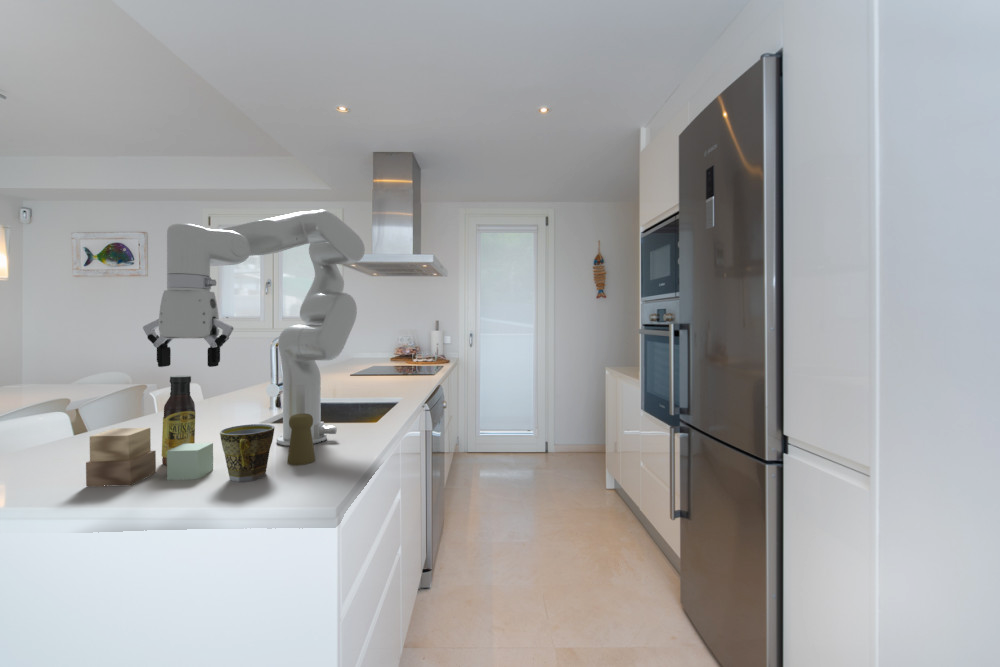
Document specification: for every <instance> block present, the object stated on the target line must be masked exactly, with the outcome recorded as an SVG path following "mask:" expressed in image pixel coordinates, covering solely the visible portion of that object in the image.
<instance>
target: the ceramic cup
mask: <svg viewBox="0 0 1000 667" xmlns="http://www.w3.org/2000/svg"><path fill="white" fill-rule="evenodd" d="M274 434H275V426H274V425H272V424H266V423H264V424H263V423H254V424H244V425H243V424H242V425H235V426H231V427H227V428H224V429H222V430H220V431H219V435H220V441H221V445H222V450H223V453H224V459H225V463H226V468H227V473H228V477H229V480H230V481H231V482H237V483H244V482H245V483H246V482H253V481H256V480H259V479H263V478H264V477H265V475H266V472H267V468H268V461H269V457H270V456H269V455H270V450H271V446H272V443H273V440H274Z"/></svg>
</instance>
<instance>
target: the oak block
mask: <svg viewBox="0 0 1000 667" xmlns="http://www.w3.org/2000/svg"><path fill="white" fill-rule="evenodd" d="M151 446H152V444H151V427H126V428H124V427H123V428H112V429H108V430H106V431H102V432H100V433H99V432H98V433H96V434H93V435H90V436H89V461H90V462H100V461H129V460H131V459H134V458H136V457H138V456H141V455H143V454H145V453H148V452H150V451H152V449H151Z"/></svg>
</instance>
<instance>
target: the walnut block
mask: <svg viewBox="0 0 1000 667" xmlns="http://www.w3.org/2000/svg"><path fill="white" fill-rule="evenodd" d="M156 455H157V454H156V450H151V451H150V452H148V453H145V454H143V455H141V456H138V457H136V458H134V459H131V460H129V461H100V462H90V460H89V461H87V462H85V481H86V482H85V484H86V485H85V486H102V487H108V486H107V485H131V486H132V484H133V485H135V484H137V483H139V482H141V481H142V479H143V480H145V479H146V477H147V478H149V477H150V475H151V476H153V475H154V473H155V474H156V471H157V464H156V463H157V462H156V460H157V458H156ZM152 474H153V475H152ZM148 476H149V477H148ZM144 478H145V479H144ZM140 480H141V481H140ZM138 481H139V482H138ZM136 482H137V483H136ZM134 483H135V484H134ZM104 485H105V486H104Z"/></svg>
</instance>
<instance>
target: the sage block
mask: <svg viewBox="0 0 1000 667" xmlns="http://www.w3.org/2000/svg"><path fill="white" fill-rule="evenodd" d="M210 471H211V472H212V471H214V442H203V443H200V442H197V443H196V442H195V443H189V444H182V445H179V446H177V447H175V448H173V449H170V450H168V451H167V465H166V472H167V473H166V474H167V475H166V479H167V481H171V480H172V481H174V480H180V479H181V480H199V479H201V478H202V476H203V477H204V476H206V475H208V474H209V473H211V472H210ZM205 474H206V475H205ZM200 477H201V478H200Z"/></svg>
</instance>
